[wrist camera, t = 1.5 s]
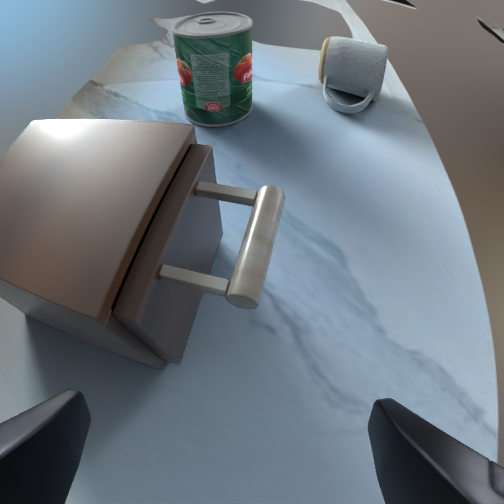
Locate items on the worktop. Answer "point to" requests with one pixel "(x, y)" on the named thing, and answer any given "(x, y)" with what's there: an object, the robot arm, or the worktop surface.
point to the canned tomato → (215, 67)
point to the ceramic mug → (352, 70)
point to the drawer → (193, 255)
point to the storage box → (82, 220)
